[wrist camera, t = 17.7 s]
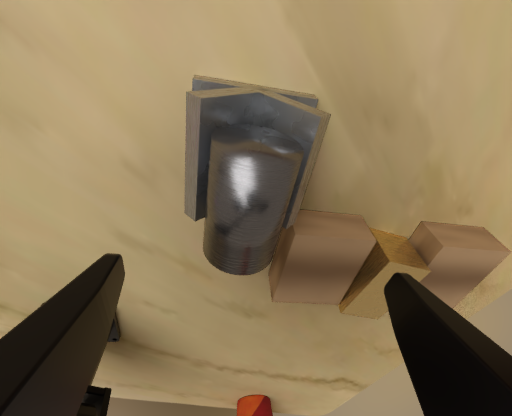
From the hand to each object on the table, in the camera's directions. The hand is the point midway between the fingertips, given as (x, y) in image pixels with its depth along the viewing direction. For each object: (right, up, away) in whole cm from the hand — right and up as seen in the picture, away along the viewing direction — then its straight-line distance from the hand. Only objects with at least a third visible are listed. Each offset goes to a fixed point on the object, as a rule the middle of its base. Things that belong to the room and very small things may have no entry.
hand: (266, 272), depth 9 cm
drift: (+10, -3, +17) cm, 20 cm away
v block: (-1, +6, +9) cm, 11 cm away
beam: (+10, -2, +16) cm, 19 cm away
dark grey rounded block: (-1, +4, +8) cm, 9 cm away
